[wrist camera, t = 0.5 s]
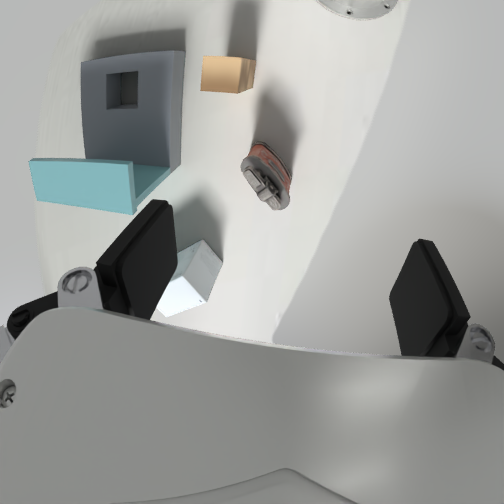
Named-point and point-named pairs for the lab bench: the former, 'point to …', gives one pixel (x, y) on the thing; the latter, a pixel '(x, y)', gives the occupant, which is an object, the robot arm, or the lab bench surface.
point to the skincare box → (191, 279)
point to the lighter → (267, 175)
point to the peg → (227, 74)
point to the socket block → (120, 135)
